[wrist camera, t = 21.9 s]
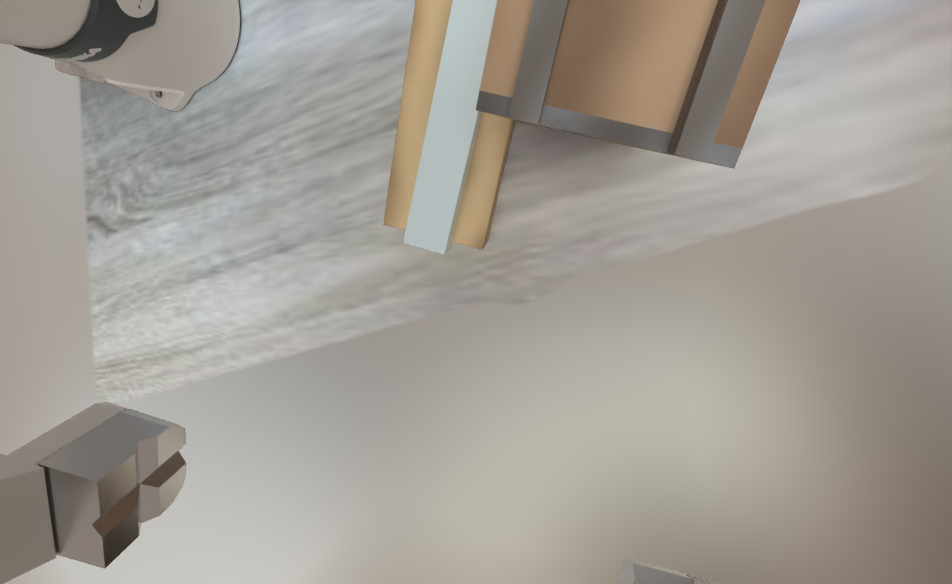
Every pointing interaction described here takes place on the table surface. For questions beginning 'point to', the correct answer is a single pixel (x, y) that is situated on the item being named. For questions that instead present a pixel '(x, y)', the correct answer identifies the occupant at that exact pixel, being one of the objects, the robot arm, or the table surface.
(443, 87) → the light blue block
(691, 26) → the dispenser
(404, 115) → the board
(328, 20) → the table surface
